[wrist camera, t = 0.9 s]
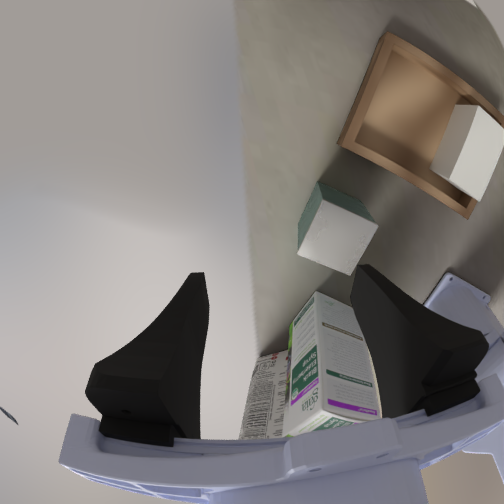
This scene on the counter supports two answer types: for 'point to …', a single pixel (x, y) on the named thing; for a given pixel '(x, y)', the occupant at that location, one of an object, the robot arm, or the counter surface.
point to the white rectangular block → (469, 150)
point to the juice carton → (266, 398)
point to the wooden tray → (409, 116)
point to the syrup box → (327, 370)
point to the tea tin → (334, 229)
